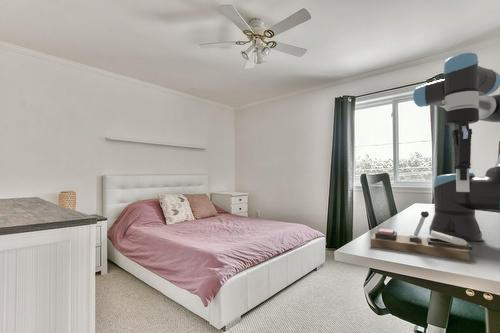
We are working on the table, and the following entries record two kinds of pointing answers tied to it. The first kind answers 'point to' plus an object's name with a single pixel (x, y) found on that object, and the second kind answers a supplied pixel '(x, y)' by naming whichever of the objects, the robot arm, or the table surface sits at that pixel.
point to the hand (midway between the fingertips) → (462, 191)
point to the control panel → (421, 245)
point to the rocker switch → (448, 238)
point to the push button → (386, 231)
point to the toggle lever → (421, 222)
